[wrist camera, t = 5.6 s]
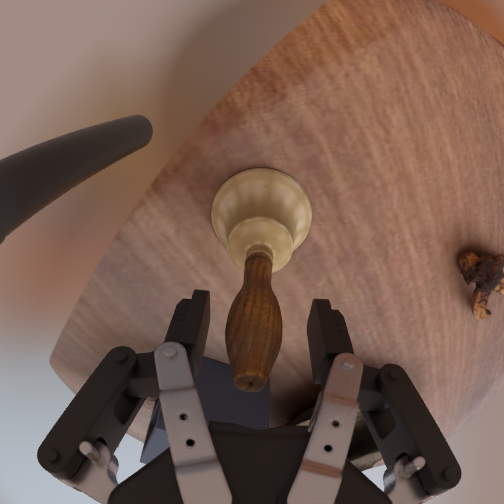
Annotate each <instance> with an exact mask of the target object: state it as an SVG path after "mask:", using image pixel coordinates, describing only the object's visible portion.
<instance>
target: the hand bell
mask: <svg viewBox="0 0 504 504" xmlns="http://www.w3.org/2000/svg"><path fill="white" fill-rule="evenodd" d="M211 220H212V225H213V228H214V231H215V233H216V235H217V237H218V238H219V240H220V241H221V242H222V244H223V245H224V246H225V247H226V248H227V249H228V253H229V256H230V258H231V259H232V261H233V262H234V264H235V265H236V266H238V267H239V268H240V269H242V270H243V271H244V283H243V286H242V288H241V290H240V291H239V293H238V294H237V296H236V297H235V299H234V301H233V303H232V306H231V308H230V311H229V314H228V318H227V324H226V331H225V341H226V348H227V354H228V358H229V361H230V363H231V367H232V372H233V379H234V384H235V386H236V387H237V388H238V389H239V390H242V391H246V392H258V391H261V390H262V389H263V388H264V387H265V386H266V384H267V381H268V377H269V374H270V372H271V369H272V367H273V365H274V363H275V360H276V358H277V356H278V353H279V350H280V346H281V342H282V317H281V311H280V307H279V304H278V301H277V298H276V296H275V294H274V293H273V291H272V288H271V278H272V273H274V272H276V271H278V270H279V269H281V268H282V267H283V266H285V265H286V263H287V262H288V261H289V259H290V257H291V255H292V252H293V251H294V250H295V249H296V248H297V247H298V246H299V245H300V244H301V243H302V242H303V241H304V239H305V238H306V236H307V234H308V232H309V229H310V226H311V222H312V209H311V203H310V200H309V198H308V196H307V194H306V192H305V191H304V189H303V188H302V186H301V185H300V184H299V183H298V182H297V181H296V180H294V179H293V178H292V177H290V176H289V175H287V174H285V173H283V172H280V171H277V170H273V169H269V168H254V169H249V170H245V171H242V172H239V173H237V174H236V175H234V176H232V177H231V178H229V179H228V180H227V181H226V182H225V183H224V184H223V185H222V186H221V187H220V188H219V190H218V191H217V193H216V195H215V197H214V200H213V203H212V208H211Z"/></svg>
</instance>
